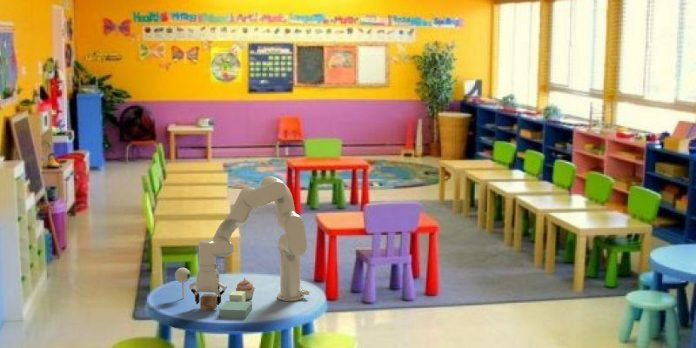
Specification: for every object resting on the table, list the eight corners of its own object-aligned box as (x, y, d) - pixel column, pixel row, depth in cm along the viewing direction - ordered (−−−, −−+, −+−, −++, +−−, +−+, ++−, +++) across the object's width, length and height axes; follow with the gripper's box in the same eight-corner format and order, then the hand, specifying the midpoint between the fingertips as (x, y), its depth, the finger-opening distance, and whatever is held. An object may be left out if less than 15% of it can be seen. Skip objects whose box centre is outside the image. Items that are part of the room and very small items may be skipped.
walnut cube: (216, 307, 407) (216, 294, 406) (213, 311, 401) (213, 298, 400) (204, 306, 407) (203, 293, 406) (200, 310, 402) (200, 297, 401)
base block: (252, 310, 403) (252, 302, 402) (246, 319, 391) (245, 310, 390) (226, 309, 404) (226, 301, 404) (219, 318, 393) (219, 309, 392)
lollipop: (186, 301, 414) (185, 270, 412) (172, 299, 417) (171, 269, 414) (193, 297, 421) (192, 266, 418) (180, 295, 423) (179, 265, 421)
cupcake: (238, 294, 425) (238, 274, 423) (257, 295, 423) (257, 275, 421) (232, 300, 416) (232, 280, 414) (252, 301, 414) (251, 281, 412)
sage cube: (245, 303, 411) (245, 291, 410) (242, 308, 405) (242, 295, 404) (232, 303, 412) (232, 291, 411) (229, 307, 406) (229, 294, 405)
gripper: (228, 265, 404) (228, 302, 406) (191, 264, 405) (192, 300, 408) (224, 270, 396) (224, 307, 399) (186, 268, 398) (187, 305, 401)
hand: (208, 303), depth 404 cm, fingers open, 9 cm apart
